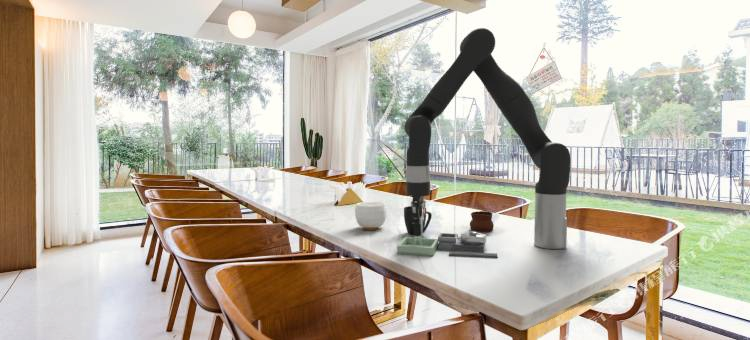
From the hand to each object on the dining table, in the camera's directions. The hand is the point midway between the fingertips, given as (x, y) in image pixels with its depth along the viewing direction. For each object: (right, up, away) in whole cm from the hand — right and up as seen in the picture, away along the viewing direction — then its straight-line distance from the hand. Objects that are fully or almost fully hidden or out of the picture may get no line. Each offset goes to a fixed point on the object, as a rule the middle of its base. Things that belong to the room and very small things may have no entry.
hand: (418, 234), depth 130 cm
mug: (+2, -4, +22) cm, 22 cm away
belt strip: (+16, -5, -6) cm, 18 cm away
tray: (0, -5, 0) cm, 5 cm away
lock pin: (0, -3, 0) cm, 3 cm away
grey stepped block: (+15, -5, +3) cm, 16 cm away
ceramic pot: (+27, -3, +27) cm, 38 cm away
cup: (-15, -3, +32) cm, 36 cm away
